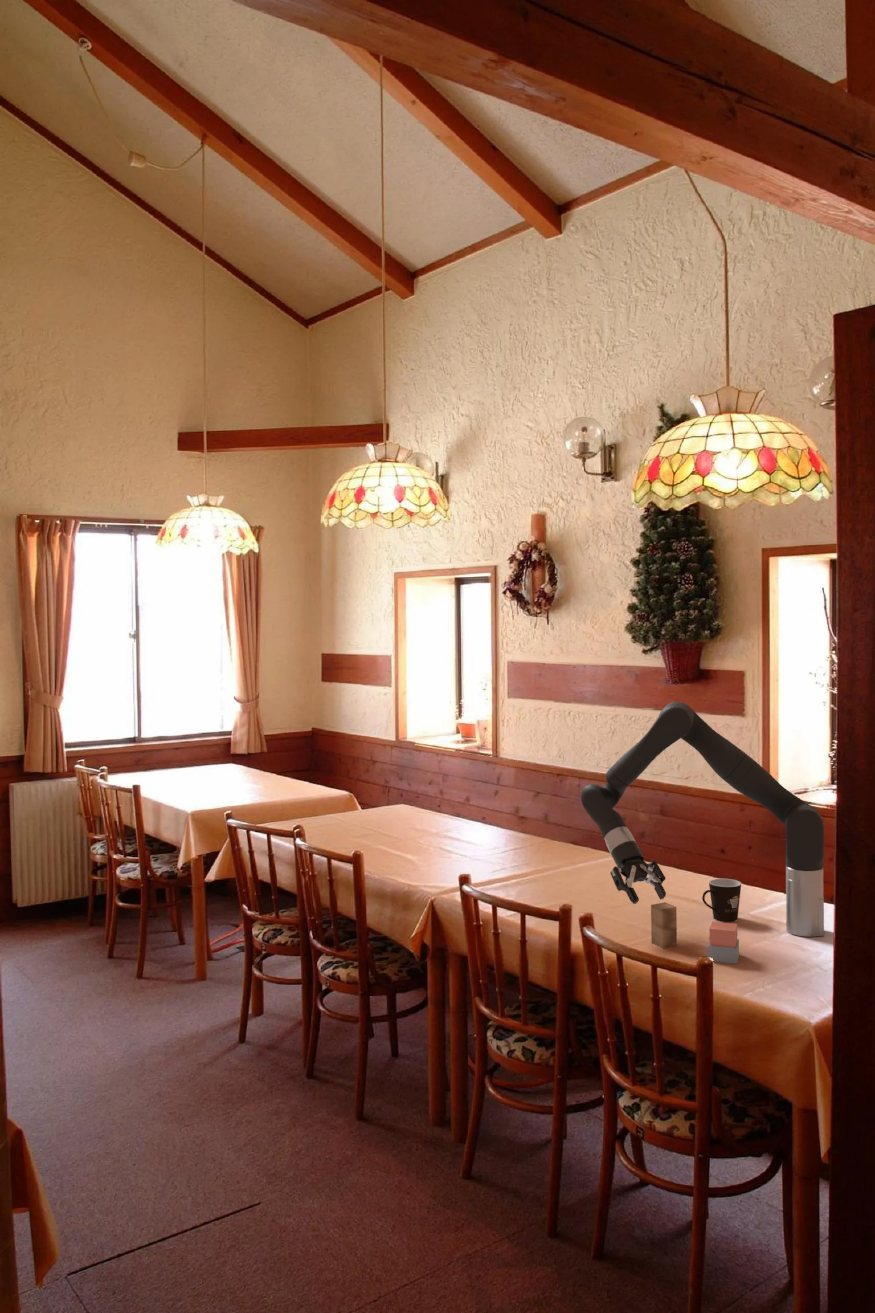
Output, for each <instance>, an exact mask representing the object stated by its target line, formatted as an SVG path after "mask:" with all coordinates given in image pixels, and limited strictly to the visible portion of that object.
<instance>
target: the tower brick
mask: <svg viewBox="0 0 875 1313" xmlns="http://www.w3.org/2000/svg"><path fill="white" fill-rule="evenodd" d="M709 926H710V927H709V937H710V945H714V946H724V947H736V943H737V939H738V923H734V922H721V921H711V923H710V925H709Z"/></svg>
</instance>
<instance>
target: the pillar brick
mask: <svg viewBox="0 0 875 1313" xmlns="http://www.w3.org/2000/svg"><path fill="white" fill-rule="evenodd" d="M677 915H678V914H677V906H675V905H673V904H671V903H668V902H659V903H654V904H653V903H652V904H651V905H650V916H651V918H650V921H651V926H650V927H651V932H650V934H651V937H650V938H651V944H652V945H654V944H655V945H654V946H656V945H657V946H656V947H659V946H660V947H659V948H660V949H661V948H662V949H666V948H671V947H670V946H672V947H676V946H678V937H677V936H678V933H677V932H678V931H677V930H678V928H677V925H678V924H677V923H678V922H677V921H678V920H677V919H678V918H677Z"/></svg>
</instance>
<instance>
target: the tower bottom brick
mask: <svg viewBox="0 0 875 1313" xmlns="http://www.w3.org/2000/svg"><path fill="white" fill-rule="evenodd" d="M707 942H708V943H707V946H706V948H707V958H708V957H711V958H713V960H714V961H715V962H714V963H725V964H726V963H727V964H739V958H740V957H739V956H740V939H739V938H737V943H736V947H724V946H714V945H710V936H708V941H707Z"/></svg>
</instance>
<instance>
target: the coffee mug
mask: <svg viewBox="0 0 875 1313" xmlns="http://www.w3.org/2000/svg"><path fill="white" fill-rule="evenodd" d="M708 884H709V886H708V887H709V889H707V890H705V891H704V892H703V893H702V902H703V904H704V905H705V906H706V907H708V908H709V909H711V910H712V911H711V912H712V917H713V920H715V921H716V922H721V921H723V922H722V923H735V922H737V921H738V920H739V919H738V918H739V910H740V909H739V908H740V907H739V906H740V900H741V892H742V890H741V889H742V882H741V881H739V880H737V879H732V878H731V879H730V878H713V879H710V880H709V881H708ZM708 893H709V894H710V902H711V905H710V904H708V903H707V901H706V899H705V898H706V895H707V894H708ZM736 920H737V921H736Z"/></svg>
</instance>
